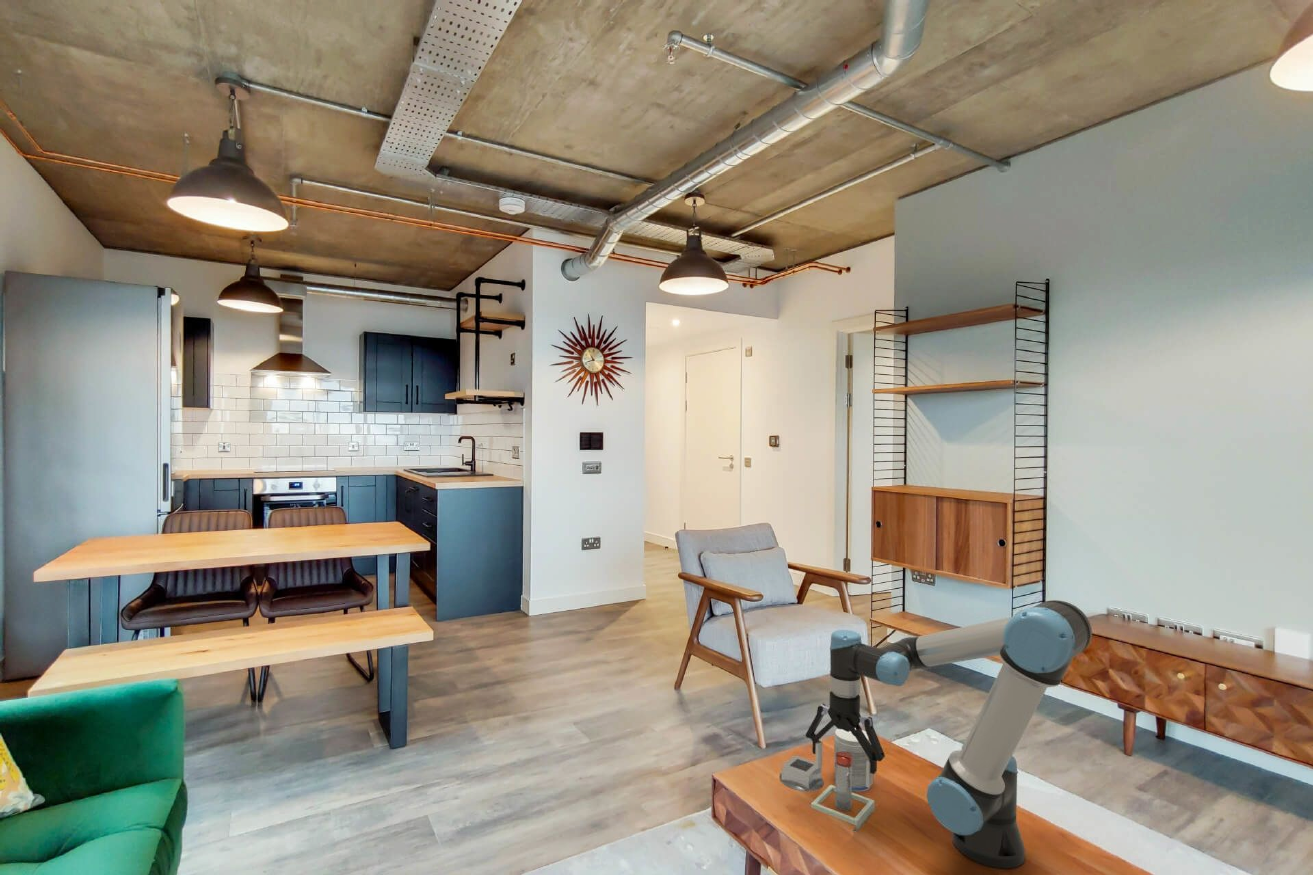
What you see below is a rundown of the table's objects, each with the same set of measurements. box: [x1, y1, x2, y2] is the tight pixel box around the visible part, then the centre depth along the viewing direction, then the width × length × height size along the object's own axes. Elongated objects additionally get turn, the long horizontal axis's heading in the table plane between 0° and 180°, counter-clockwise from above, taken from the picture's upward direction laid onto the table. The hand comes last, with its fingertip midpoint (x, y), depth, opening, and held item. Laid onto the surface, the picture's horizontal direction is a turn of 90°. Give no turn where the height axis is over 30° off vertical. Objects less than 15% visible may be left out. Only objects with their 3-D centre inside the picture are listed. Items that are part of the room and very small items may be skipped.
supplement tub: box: [833, 728, 871, 792], centre depth 177 cm, size 10×10×15 cm
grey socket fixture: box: [778, 755, 825, 793], centre depth 177 cm, size 12×12×6 cm
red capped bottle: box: [834, 751, 853, 812], centre depth 164 cm, size 4×4×14 cm
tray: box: [810, 784, 876, 832], centre depth 165 cm, size 12×12×2 cm
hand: (843, 775), depth 165 cm, fingers open, 13 cm apart
